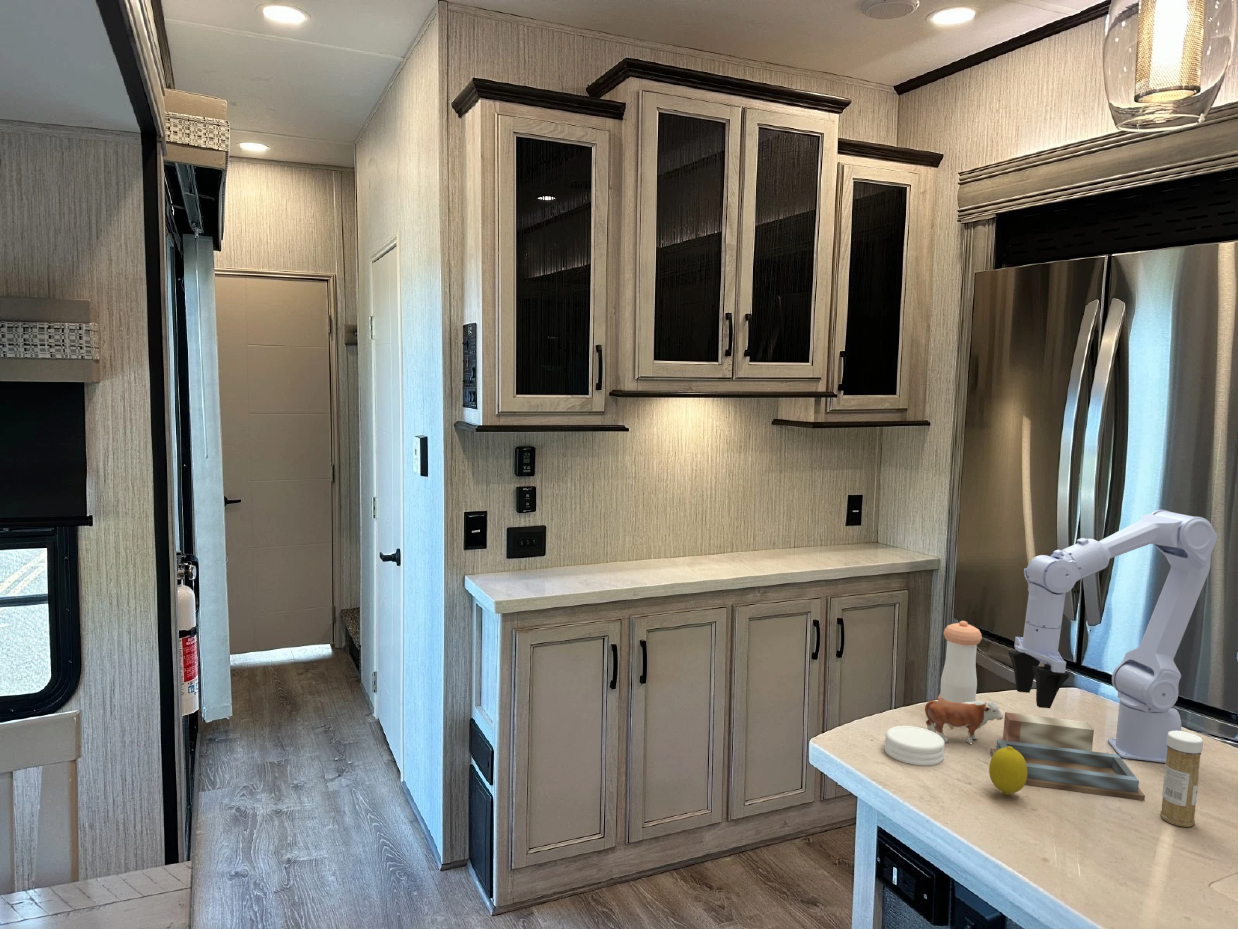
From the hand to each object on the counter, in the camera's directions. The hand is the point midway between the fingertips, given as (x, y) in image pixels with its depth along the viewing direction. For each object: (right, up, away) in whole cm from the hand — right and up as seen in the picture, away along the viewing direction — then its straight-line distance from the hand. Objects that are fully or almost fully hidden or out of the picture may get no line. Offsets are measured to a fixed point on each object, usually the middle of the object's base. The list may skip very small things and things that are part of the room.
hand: (1033, 699), depth 154 cm
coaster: (-21, -10, -1) cm, 24 cm away
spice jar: (+12, -13, -22) cm, 28 cm away
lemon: (-12, -11, -15) cm, 22 cm away
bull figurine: (-10, -9, +6) cm, 15 cm away
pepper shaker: (-6, -8, +18) cm, 21 cm away
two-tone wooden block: (+5, -10, +4) cm, 12 cm away
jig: (+2, -11, -7) cm, 13 cm away
